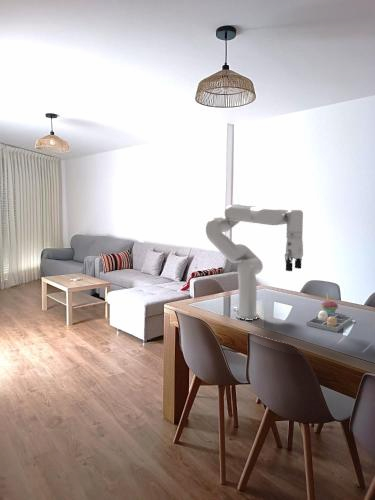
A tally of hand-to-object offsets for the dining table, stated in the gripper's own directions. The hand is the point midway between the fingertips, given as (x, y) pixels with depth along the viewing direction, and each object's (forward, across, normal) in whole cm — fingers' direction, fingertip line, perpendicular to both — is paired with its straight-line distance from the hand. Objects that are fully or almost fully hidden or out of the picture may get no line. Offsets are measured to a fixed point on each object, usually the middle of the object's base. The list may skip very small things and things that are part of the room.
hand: (293, 269), depth 182 cm
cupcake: (+28, +31, -7) cm, 43 cm away
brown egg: (+28, +6, -18) cm, 33 cm away
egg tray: (+28, +13, -14) cm, 34 cm away
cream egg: (+28, +13, -10) cm, 32 cm away
